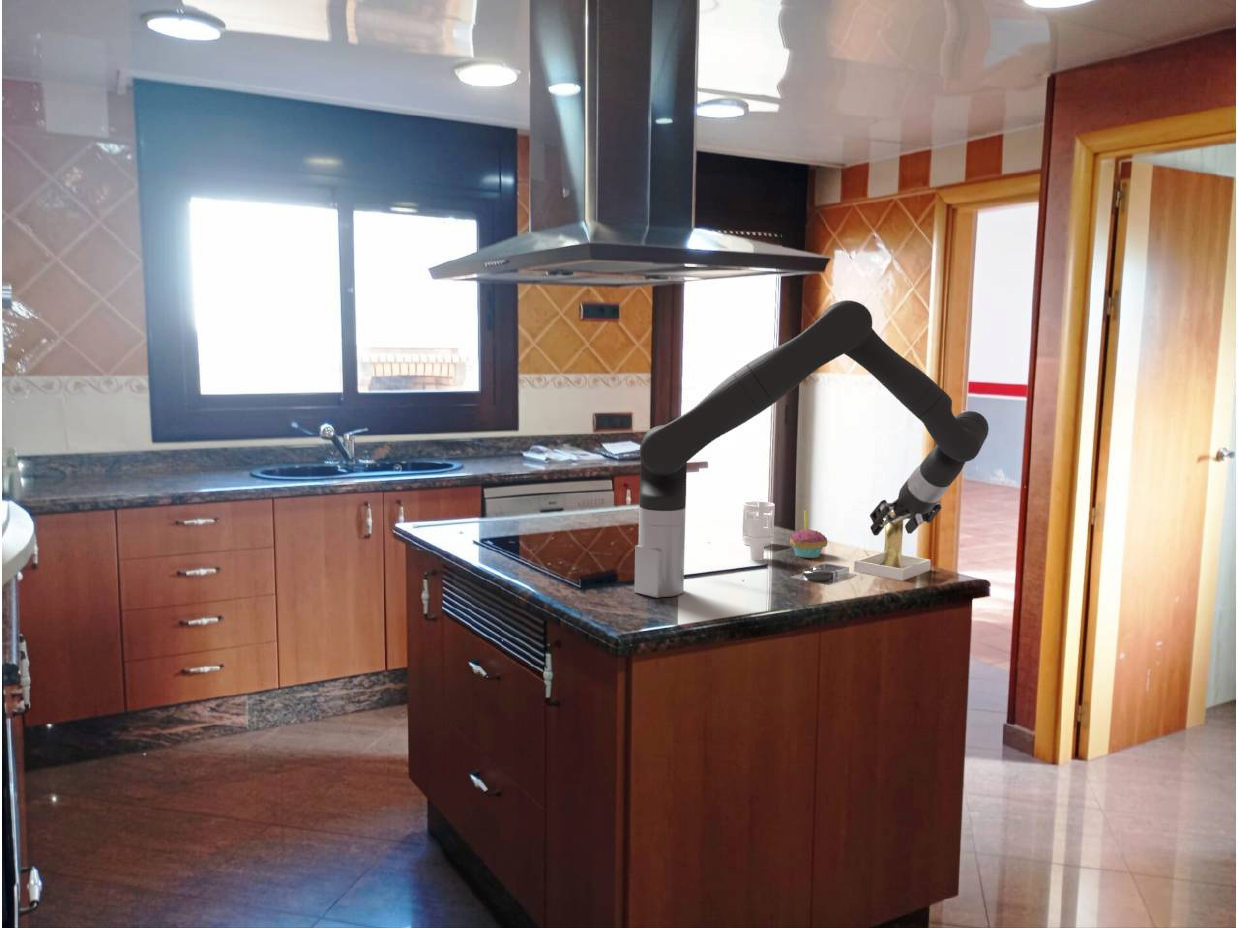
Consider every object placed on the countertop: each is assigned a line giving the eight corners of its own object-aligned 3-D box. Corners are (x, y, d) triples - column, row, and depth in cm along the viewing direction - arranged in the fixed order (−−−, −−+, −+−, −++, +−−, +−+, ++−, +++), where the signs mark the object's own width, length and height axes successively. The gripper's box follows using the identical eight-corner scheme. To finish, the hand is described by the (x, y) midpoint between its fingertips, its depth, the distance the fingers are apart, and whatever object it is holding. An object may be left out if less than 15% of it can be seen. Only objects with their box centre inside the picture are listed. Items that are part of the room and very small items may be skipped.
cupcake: (782, 557, 230) (784, 506, 228) (813, 554, 233) (815, 504, 231) (801, 565, 222) (803, 513, 220) (833, 563, 225) (836, 511, 223)
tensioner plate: (827, 590, 200) (828, 574, 200) (789, 582, 206) (790, 566, 206) (856, 580, 209) (857, 564, 208) (819, 572, 215) (820, 557, 214)
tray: (902, 586, 205) (902, 569, 204) (853, 576, 212) (854, 560, 212) (929, 575, 214) (930, 559, 214) (882, 566, 222) (883, 551, 221)
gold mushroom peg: (896, 576, 210) (899, 516, 208) (876, 572, 213) (880, 513, 211) (906, 572, 213) (909, 513, 211) (887, 569, 216) (890, 510, 214)
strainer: (743, 567, 219) (745, 501, 217) (738, 560, 226) (740, 495, 224) (775, 567, 219) (777, 501, 217) (769, 560, 226) (771, 496, 224)
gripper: (947, 471, 205) (912, 515, 218) (888, 473, 201) (855, 518, 213) (962, 500, 201) (925, 544, 213) (902, 503, 197) (868, 547, 209)
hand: (890, 531), depth 213 cm, fingers open, 8 cm apart
